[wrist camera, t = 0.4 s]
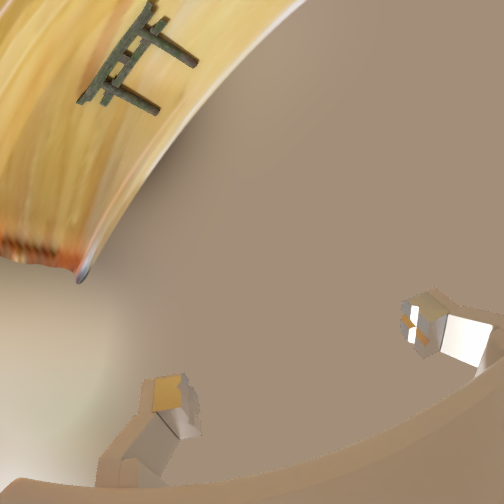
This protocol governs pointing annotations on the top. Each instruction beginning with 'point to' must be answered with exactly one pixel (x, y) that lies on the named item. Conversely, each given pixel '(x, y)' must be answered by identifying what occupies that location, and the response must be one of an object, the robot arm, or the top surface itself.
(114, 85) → the miniature torii gate
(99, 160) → the top surface
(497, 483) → the robot arm
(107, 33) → the top surface
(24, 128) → the top surface
